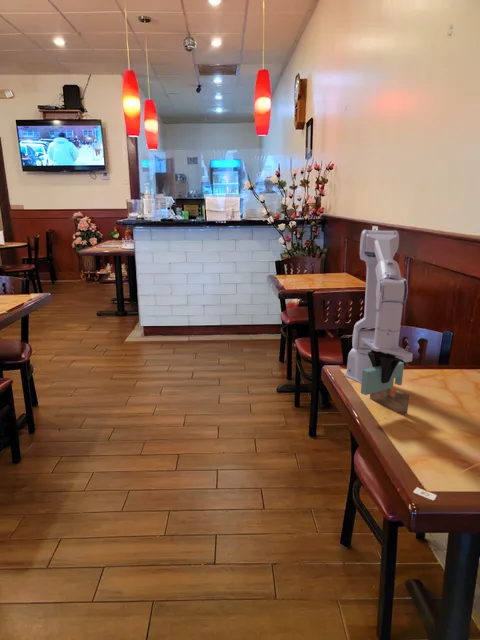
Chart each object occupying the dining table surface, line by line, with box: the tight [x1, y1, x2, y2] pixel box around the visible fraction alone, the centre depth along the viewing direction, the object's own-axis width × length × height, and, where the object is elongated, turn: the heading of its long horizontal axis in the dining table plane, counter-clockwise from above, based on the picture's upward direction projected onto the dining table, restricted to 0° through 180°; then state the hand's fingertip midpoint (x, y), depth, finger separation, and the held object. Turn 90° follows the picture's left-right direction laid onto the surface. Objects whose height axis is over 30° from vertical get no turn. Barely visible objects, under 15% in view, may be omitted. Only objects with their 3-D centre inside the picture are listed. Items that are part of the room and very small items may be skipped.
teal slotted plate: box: [360, 361, 405, 396], centre depth 114 cm, size 2×13×6 cm, turn 122°
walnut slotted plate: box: [369, 388, 410, 415], centre depth 119 cm, size 11×2×5 cm, turn 31°
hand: (381, 380), depth 114 cm, fingers closed on teal slotted plate, 2 cm apart
